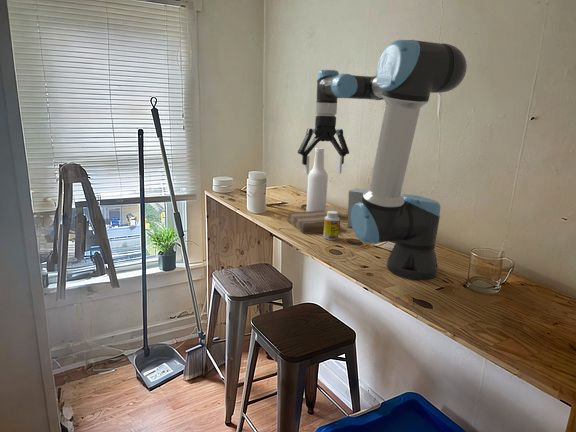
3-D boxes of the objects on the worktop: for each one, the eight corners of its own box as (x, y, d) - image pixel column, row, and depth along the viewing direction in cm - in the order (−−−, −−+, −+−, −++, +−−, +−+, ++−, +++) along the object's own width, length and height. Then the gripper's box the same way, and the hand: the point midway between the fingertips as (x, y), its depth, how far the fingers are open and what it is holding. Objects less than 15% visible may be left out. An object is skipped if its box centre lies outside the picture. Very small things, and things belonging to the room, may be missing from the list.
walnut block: (339, 230, 162) (340, 220, 161) (302, 233, 156) (303, 223, 155) (322, 219, 176) (322, 210, 175) (288, 221, 170) (288, 212, 169)
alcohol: (329, 214, 184) (333, 148, 176) (315, 217, 178) (320, 149, 170) (315, 210, 190) (319, 146, 182) (302, 213, 185) (305, 147, 177)
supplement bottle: (329, 241, 148) (331, 214, 145) (320, 237, 152) (321, 211, 150) (341, 239, 151) (343, 213, 148) (331, 235, 155) (333, 209, 153)
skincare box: (371, 227, 167) (375, 190, 163) (363, 231, 162) (367, 192, 158) (353, 223, 172) (356, 187, 168) (345, 226, 167) (348, 189, 162)
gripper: (350, 115, 154) (346, 170, 160) (290, 114, 145) (288, 172, 151) (361, 116, 148) (356, 173, 153) (298, 114, 139) (295, 175, 144)
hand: (322, 173), depth 152 cm, fingers open, 13 cm apart
